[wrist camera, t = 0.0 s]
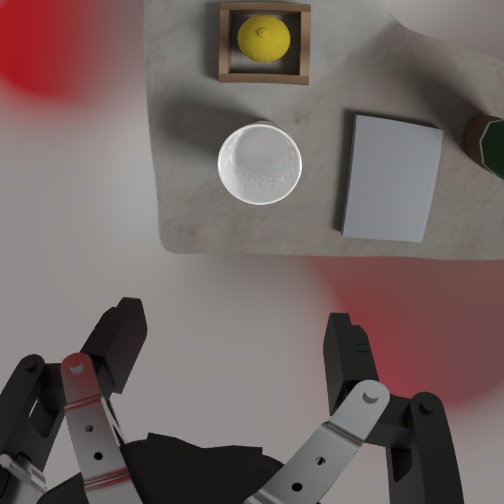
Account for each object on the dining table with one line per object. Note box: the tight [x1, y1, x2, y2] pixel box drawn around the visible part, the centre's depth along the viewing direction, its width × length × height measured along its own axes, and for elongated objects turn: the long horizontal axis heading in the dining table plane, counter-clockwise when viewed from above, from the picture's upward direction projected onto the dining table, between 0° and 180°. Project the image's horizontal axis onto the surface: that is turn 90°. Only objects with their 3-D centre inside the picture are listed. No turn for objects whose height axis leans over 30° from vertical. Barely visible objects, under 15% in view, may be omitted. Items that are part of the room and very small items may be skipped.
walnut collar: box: [219, 2, 311, 85], centre depth 30 cm, size 10×10×2 cm
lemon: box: [238, 15, 290, 62], centre depth 28 cm, size 6×6×8 cm
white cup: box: [218, 121, 302, 205], centre depth 33 cm, size 8×8×10 cm
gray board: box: [341, 114, 443, 242], centre depth 38 cm, size 16×12×2 cm
